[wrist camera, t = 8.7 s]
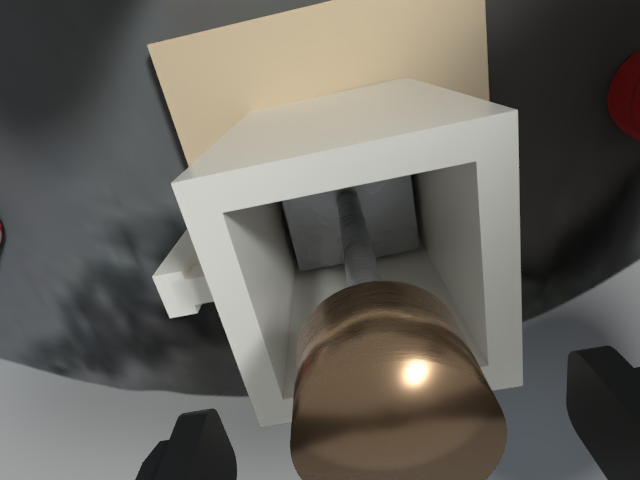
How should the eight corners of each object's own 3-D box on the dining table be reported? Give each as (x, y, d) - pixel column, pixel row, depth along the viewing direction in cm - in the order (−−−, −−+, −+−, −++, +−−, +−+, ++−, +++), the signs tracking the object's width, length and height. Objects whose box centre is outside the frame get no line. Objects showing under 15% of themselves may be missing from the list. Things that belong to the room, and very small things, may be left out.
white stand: (476, -32, 25) (747, -174, 9) (491, 263, 33) (649, 458, 17) (153, 45, 26) (-85, 36, 11) (243, 309, 34) (180, 525, 19)
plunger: (402, 124, 21) (574, 273, 7) (417, 244, 24) (564, 527, 10) (270, 152, 22) (183, 343, 8) (300, 266, 25) (277, 566, 10)
